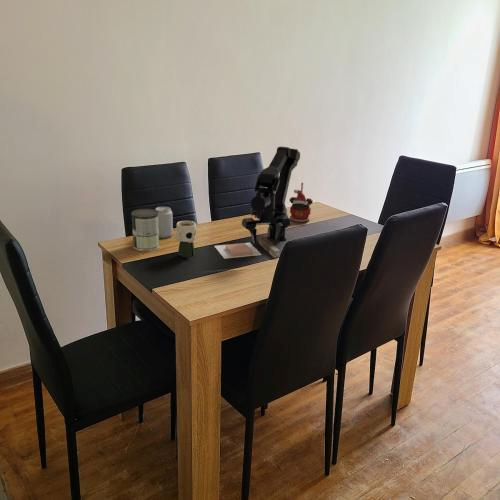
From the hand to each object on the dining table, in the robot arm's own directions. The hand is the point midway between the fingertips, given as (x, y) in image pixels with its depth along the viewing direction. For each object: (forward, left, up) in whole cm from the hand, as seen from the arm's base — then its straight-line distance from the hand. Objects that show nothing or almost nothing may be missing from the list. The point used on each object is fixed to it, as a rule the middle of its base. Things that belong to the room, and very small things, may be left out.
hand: (265, 242), depth 202 cm
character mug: (+32, 0, -3) cm, 32 cm away
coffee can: (+45, -14, -3) cm, 47 cm away
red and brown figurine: (-30, -32, -3) cm, 44 cm away
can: (+36, -25, -3) cm, 44 cm away
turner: (0, +4, -2) cm, 5 cm away
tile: (+12, -2, -1) cm, 12 cm away
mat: (+12, +1, -2) cm, 12 cm away
